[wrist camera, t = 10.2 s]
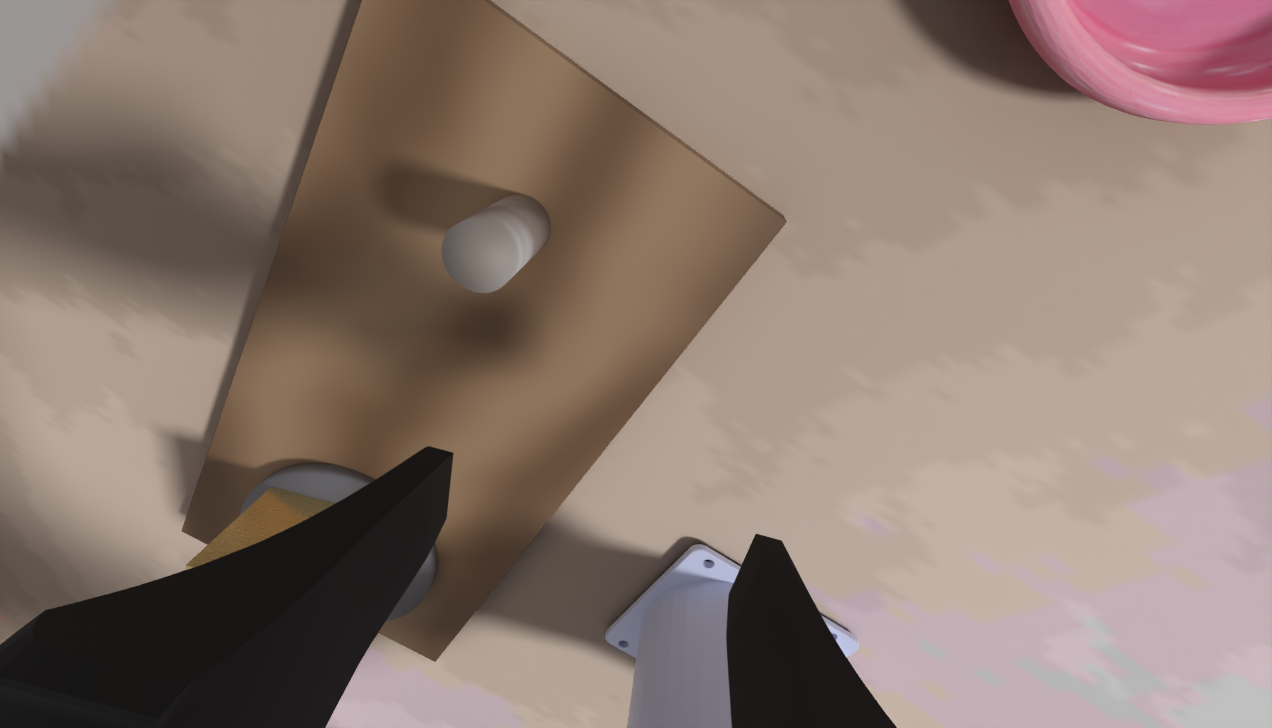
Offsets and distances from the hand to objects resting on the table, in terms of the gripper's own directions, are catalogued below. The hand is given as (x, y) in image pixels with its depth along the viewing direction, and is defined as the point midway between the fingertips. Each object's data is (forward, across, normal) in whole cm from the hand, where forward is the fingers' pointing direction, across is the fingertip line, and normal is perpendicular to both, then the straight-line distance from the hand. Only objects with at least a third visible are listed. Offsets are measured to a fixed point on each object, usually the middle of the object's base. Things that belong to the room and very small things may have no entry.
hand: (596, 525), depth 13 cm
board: (+9, +8, +4) cm, 13 cm away
